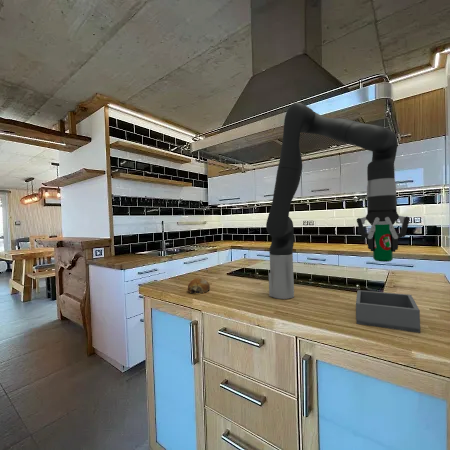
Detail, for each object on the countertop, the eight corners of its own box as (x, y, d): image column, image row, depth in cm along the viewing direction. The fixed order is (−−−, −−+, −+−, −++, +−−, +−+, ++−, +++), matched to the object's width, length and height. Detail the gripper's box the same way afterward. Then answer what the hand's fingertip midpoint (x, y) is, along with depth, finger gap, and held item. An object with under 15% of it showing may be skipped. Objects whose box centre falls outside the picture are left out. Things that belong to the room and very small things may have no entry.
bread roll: (211, 299, 116) (216, 281, 118) (195, 294, 109) (201, 276, 111) (197, 295, 122) (202, 279, 125) (181, 290, 116) (186, 273, 118)
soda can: (374, 258, 81) (373, 221, 81) (393, 259, 78) (392, 220, 78) (371, 261, 77) (370, 221, 77) (391, 262, 74) (390, 221, 74)
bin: (356, 323, 75) (355, 303, 75) (358, 307, 88) (357, 290, 88) (420, 332, 67) (419, 310, 67) (411, 313, 80) (411, 294, 80)
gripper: (354, 196, 77) (355, 252, 78) (412, 192, 70) (413, 253, 71) (355, 197, 84) (356, 249, 84) (408, 194, 77) (409, 250, 77)
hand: (382, 250), depth 77 cm, fingers closed on soda can, 5 cm apart
